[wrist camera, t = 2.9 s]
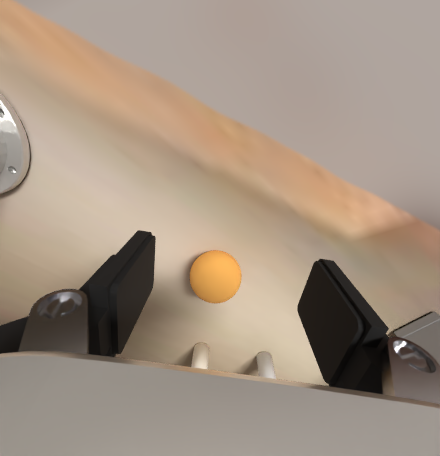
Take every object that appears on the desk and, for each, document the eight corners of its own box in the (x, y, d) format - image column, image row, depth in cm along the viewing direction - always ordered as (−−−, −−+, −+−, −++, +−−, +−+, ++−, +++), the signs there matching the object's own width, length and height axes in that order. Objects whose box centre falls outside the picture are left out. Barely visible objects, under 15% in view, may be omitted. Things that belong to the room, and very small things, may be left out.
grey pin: (258, 350, 35) (266, 413, 27) (273, 352, 35) (286, 416, 27) (255, 360, 36) (262, 424, 28) (269, 362, 36) (281, 427, 28)
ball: (196, 238, 28) (188, 264, 22) (244, 245, 28) (248, 273, 22) (191, 277, 30) (183, 310, 24) (235, 284, 30) (237, 318, 25)
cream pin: (194, 341, 35) (185, 402, 27) (210, 343, 35) (205, 405, 27) (193, 352, 36) (183, 414, 28) (208, 354, 36) (202, 416, 28)
